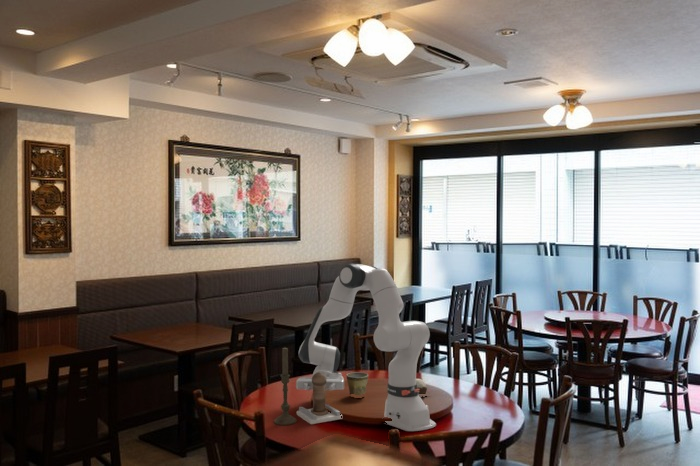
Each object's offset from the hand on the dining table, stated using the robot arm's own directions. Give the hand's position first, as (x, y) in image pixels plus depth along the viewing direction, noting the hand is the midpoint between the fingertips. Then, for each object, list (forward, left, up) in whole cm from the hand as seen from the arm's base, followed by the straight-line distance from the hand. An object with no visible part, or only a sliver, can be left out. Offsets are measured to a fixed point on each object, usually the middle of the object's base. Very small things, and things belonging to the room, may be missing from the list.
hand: (319, 388), depth 247 cm
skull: (+7, -53, -12) cm, 55 cm away
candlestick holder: (+1, +14, -12) cm, 19 cm away
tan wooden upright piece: (0, 0, -10) cm, 10 cm away
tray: (0, 0, -11) cm, 12 cm away
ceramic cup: (+19, -29, -12) cm, 36 cm away
